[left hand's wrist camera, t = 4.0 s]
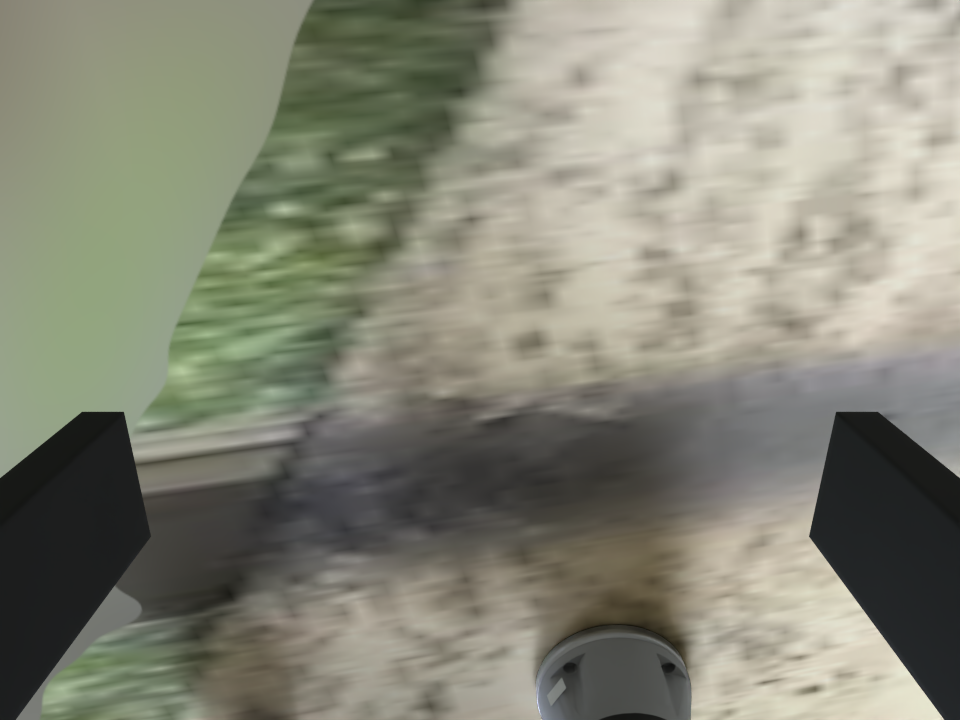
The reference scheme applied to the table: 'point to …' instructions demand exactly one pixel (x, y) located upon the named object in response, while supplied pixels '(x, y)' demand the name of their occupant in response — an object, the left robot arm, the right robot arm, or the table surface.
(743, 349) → the table surface
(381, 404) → the table surface
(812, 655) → the table surface
